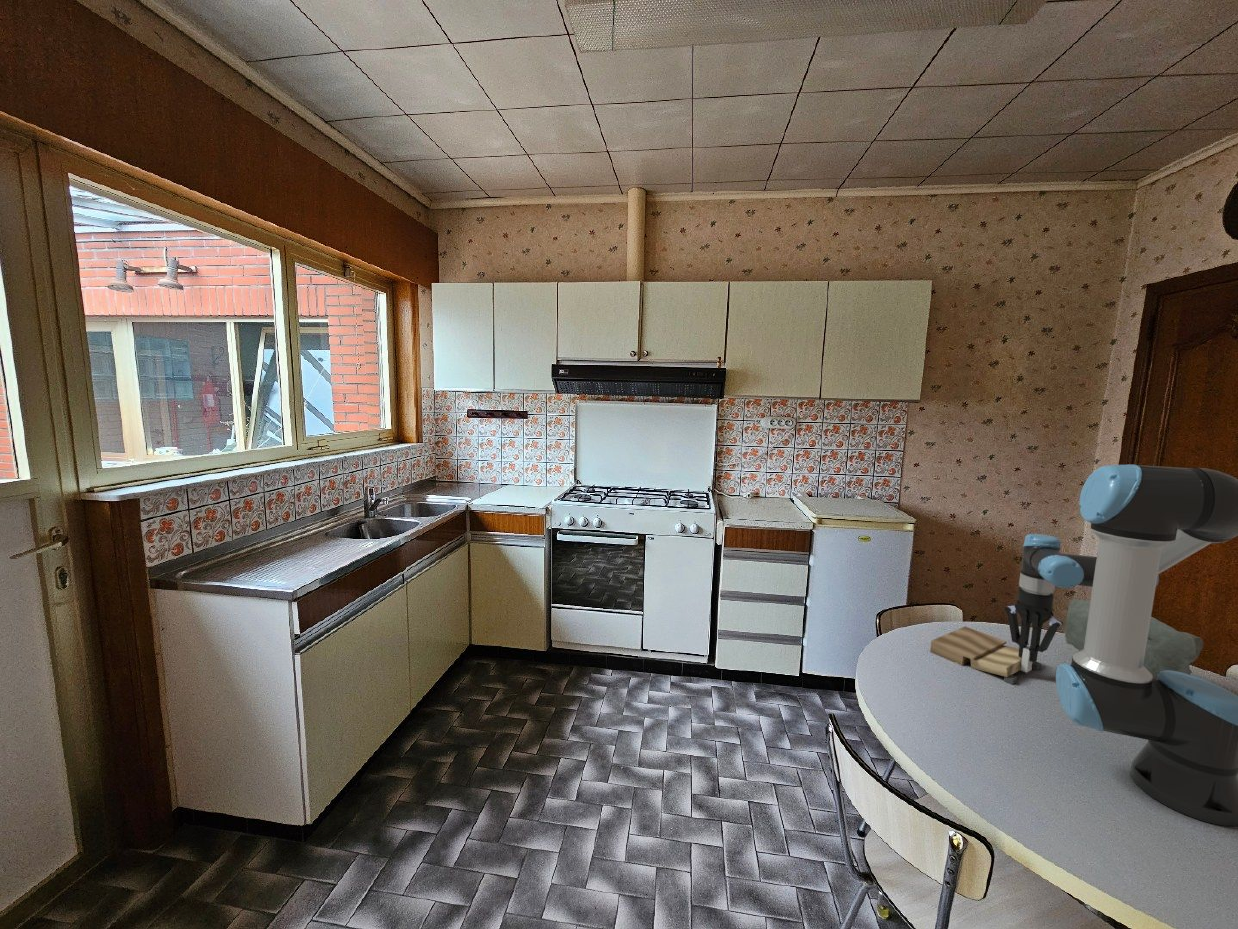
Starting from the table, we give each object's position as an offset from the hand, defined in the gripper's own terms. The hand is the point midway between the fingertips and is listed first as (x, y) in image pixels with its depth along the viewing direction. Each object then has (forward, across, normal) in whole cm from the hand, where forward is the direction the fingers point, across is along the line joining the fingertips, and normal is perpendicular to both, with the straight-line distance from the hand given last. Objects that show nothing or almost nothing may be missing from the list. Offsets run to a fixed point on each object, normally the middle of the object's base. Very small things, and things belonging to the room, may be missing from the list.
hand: (1025, 670), depth 141 cm
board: (+2, +15, 0) cm, 15 cm away
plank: (+2, +6, 0) cm, 6 cm away
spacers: (+2, 0, 0) cm, 2 cm away
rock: (+2, -13, -26) cm, 29 cm away
